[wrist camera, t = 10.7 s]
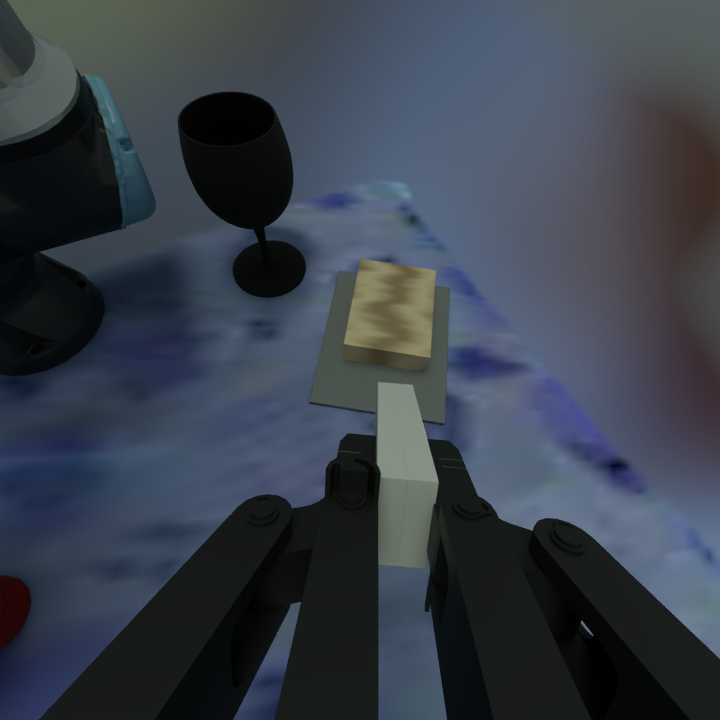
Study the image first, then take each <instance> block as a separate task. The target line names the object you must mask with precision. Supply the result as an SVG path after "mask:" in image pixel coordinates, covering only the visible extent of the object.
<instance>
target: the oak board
mask: <svg viewBox="0 0 720 720" xmlns="http://www.w3.org/2000/svg"><path fill="white" fill-rule="evenodd" d="M435 275H436V270H430V269H424V268H417V267H411V266H404V265H398V264H391V263H384V262H378V261H371V260H365V259H360V264H359V269H358V274H357V279H356V284H355V289H354V294H353V299H352V304H351V310H350V315H349V320H348V325H347V330H346V335H345V340H344V355H343V359H344V360H350V361H356V362H362V363H369V364H375V365H381V366H388V367H394V368H400V369H407V370H413V371H419V372H423V370H424V368H425V367H426V365H427V363H428V361H429V359H430V355H431V339H432V323H433V307H434V291H435Z"/></svg>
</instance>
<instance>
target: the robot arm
mask: <svg viewBox="0 0 720 720" xmlns="http://www.w3.org/2000/svg"><path fill="white" fill-rule="evenodd" d="M155 209H156V200H155V197H154V195H153V192H152V189H151V186H150V184H149V182H148V179H147V176H146V174H145V172H144V169H143V167H142V164H141V162H140V159H139V157H138V155H137V152H136V150H135V148H134V146H133V144H132V141H131V138H130V136H129V134H128V131H127V128H126V126H125V124H124V121H123V119H122V116H121V114H120V112H119V109H118V107H117V105H116V102H115V100H114V98H113V96H112V93H111V91H110V89H109V87H108V85H107V83H106V82H105V81H104V80H103V79H102V78H100V77H97V76H90V75H87V74H85V75H83V76H82V77H81V75H80V74H79V72H78V70H77V69H76V67H75V66H74V64H73V62H72V61H71V59H70V58H69V57H68V56H67V55H66V53H65V52H64V51H63V50H62V49H61V48H59V47H58V46H57V45H56V44H54V43H53V42H51V41H49V40H48V39H46V38H44V37H42V36H39V35H38V34H35V33H33V32H31V31H29V30H27V29H26V28H25V27H24V25H23V24H22V22H21V21H20V19H19V18H18V16H17V15H16V13H15V11H14V10H13V8H12V7H11V5H10V4H9V3H8V1H7V0H0V374H3V375H24V374H30V373H35V372H39V371H42V370H45V369H48V368H50V367H53V366H55V365H57V364H59V363H61V362H63V361H65V360H66V359H68V358H69V357H71V356H72V355H74V354H75V353H76V352H78V351H79V350H80V349H81V348H82V347H83V346H84V345H86V343H87V342H88V341H89V340H90V339H91V338H92V336H93V335H94V334H95V332H96V331H97V329H98V327H99V325H100V323H101V320H102V317H103V312H104V302H103V298H102V295H101V293H100V291H99V290H98V289H97V287H96V286H95V285H94V284H93V283H92V282H91V281H89V280H88V279H87V278H86V277H85V276H84V275H83V274H82V273H80V272H79V271H77V270H75V269H73V268H71V267H69V266H67V265H65V264H63V263H61V262H59V261H57V260H54V259H53V258H50V257H48V256H46V255H44V254H42V253H40V251H44V250H47V249H51V248H54V247H58V246H62V245H65V244H69V243H73V242H76V241H79V240H83V239H87V238H90V237H94V236H97V235H101V234H105V233H108V232H112V231H115V230H119V229H120V230H121V229H125V228H126V227H127V226H128V225H131V224H134V223H137V222H139V221H142V220H145V219H147V218H149V217H150V216H151V215H152V214H153V213H154V212H155ZM427 556H428V559H429V565H430V575H429V581H428V587H427V594H426V600H425V611H426V612H429V608H430V605H431V612H432V619H433V626H434V633H435V639H436V646H437V653H438V660H439V667H440V674H441V681H442V687H443V694H444V701H445V708H446V715H447V720H720V659H719V658H718V657H717V656H716V655H715V654H714V653H713V652H712V651H711V650H710V649H709V648H708V647H707V646H706V645H704V644H703V643H702V642H701V641H700V640H699V639H698V638H697V637H696V636H695V635H694V634H693V633H692V632H691V631H690V630H689V629H688V628H687V627H686V626H685V625H684V624H682V623H681V622H680V621H679V620H678V619H677V618H676V617H675V616H674V615H673V614H672V613H671V612H670V611H669V610H668V609H667V608H666V607H665V606H664V605H663V604H662V603H660V602H659V601H658V600H657V599H656V598H655V597H654V596H653V595H652V594H651V593H650V592H649V591H648V590H647V589H646V588H645V587H644V586H643V585H642V584H641V583H640V582H638V581H637V580H636V579H635V578H634V577H633V576H632V575H631V574H630V573H629V572H628V571H627V570H626V569H625V568H624V567H623V566H622V565H621V564H620V563H619V562H618V561H617V560H615V559H614V558H613V557H612V556H611V555H610V554H609V553H608V552H607V551H606V550H605V549H604V548H603V547H602V546H601V545H600V544H599V543H598V542H597V541H596V540H595V539H593V538H592V537H591V536H590V535H589V534H587V533H586V532H585V531H583V530H582V529H580V528H578V527H577V526H575V525H573V524H571V523H569V522H565V521H562V520H559V519H551V518H545V519H542V520H539V521H538V522H537V523H536V524H535V526H534V529H533V531H531V530H528V529H525V528H522V527H519V526H516V525H513V524H510V523H508V522H505V521H503V520H501V519H499V518H498V515H497V513H496V512H495V510H494V509H493V507H492V506H491V505H490V504H489V503H488V502H487V501H485V500H484V499H483V498H481V497H479V496H478V495H477V493H476V490H475V488H474V485H473V483H472V481H471V478H470V476H469V474H468V471H467V469H466V466H465V464H464V462H463V461H462V457H461V454H460V452H459V450H458V449H457V448H456V447H455V446H454V445H453V444H452V443H451V442H450V441H445V440H433V439H427V436H426V433H425V429H424V425H423V422H422V418H421V414H420V410H419V407H418V403H417V399H416V395H415V392H414V388H413V385H409V384H396V383H383V382H378V388H377V401H376V413H375V425H374V436H372V435H360V434H347V435H346V436H345V437H344V438H343V439H342V440H341V441H340V445H339V450H338V454H337V458H336V459H334V460H333V461H331V462H330V463H329V464H328V466H327V468H326V481H325V497H324V498H323V499H322V500H320V501H319V502H317V503H314V504H312V505H308V506H304V507H299V508H291V505H290V504H289V502H288V501H287V500H286V499H284V498H282V497H280V496H277V495H269V494H267V495H260V496H255V497H253V498H251V499H248V500H246V501H245V502H243V503H242V504H241V505H240V506H238V507H237V508H236V509H235V511H234V512H233V513H232V514H231V515H230V516H229V517H228V518H227V519H226V520H225V521H224V522H223V523H222V524H221V525H220V527H219V528H218V529H217V530H216V531H215V532H214V533H213V534H212V535H211V536H210V537H209V538H208V539H207V540H206V542H205V543H204V544H203V545H202V546H201V547H200V548H199V549H198V550H197V551H196V552H195V553H194V554H193V555H192V556H191V558H190V559H189V560H188V561H187V562H186V563H185V564H184V565H183V566H182V567H181V568H180V569H179V570H178V571H177V573H176V574H175V575H174V576H173V577H172V578H171V579H170V580H169V581H168V582H167V583H166V584H165V585H164V586H163V588H162V589H161V590H160V591H159V592H158V593H157V594H156V595H155V596H154V597H153V598H152V599H151V600H150V601H149V602H148V604H147V605H146V606H145V607H144V608H143V609H142V610H141V611H140V612H139V613H138V614H137V615H136V616H135V617H134V619H133V620H132V621H131V622H130V623H129V624H128V625H127V626H126V627H125V628H124V629H123V630H122V631H121V632H120V634H119V635H118V636H117V637H116V638H115V639H114V640H113V641H112V642H111V643H110V644H109V645H108V646H107V647H106V648H105V650H104V651H103V652H102V653H101V654H100V655H99V656H98V657H97V658H96V659H95V660H94V661H93V662H92V663H91V665H90V666H89V667H88V668H87V669H86V670H85V671H84V672H83V673H82V674H81V675H80V676H79V677H78V678H77V680H76V681H75V682H74V683H73V684H72V685H71V686H70V687H69V688H68V689H67V690H66V691H65V692H64V693H63V694H62V696H61V697H60V698H59V699H58V700H57V701H56V702H55V703H54V704H53V705H52V706H51V707H50V708H49V709H48V711H47V712H46V713H45V714H44V715H43V716H42V717H41V718H40V719H39V720H233V719H234V717H235V715H236V713H237V711H238V709H239V707H240V705H241V703H242V701H243V699H244V697H245V695H246V693H247V691H248V689H249V687H250V685H251V683H252V681H253V679H254V677H255V675H256V673H257V671H258V669H259V667H260V665H261V664H262V662H263V660H264V658H265V656H266V654H267V652H268V650H269V648H270V646H271V644H272V642H273V640H274V638H275V636H276V634H277V632H278V630H279V628H280V626H281V624H282V622H283V620H284V618H285V616H286V614H287V612H288V610H289V608H290V605H291V604H293V603H297V602H301V606H300V610H299V615H298V619H297V624H296V628H295V632H294V637H293V641H292V646H291V650H290V655H289V659H288V664H287V668H286V672H285V677H284V681H283V686H282V690H281V695H280V699H279V704H278V708H277V712H276V717H275V720H378V565H389V566H399V567H409V568H420V569H426V562H427ZM581 621H583V622H584V624H585V625H586V626H587V627H588V629H589V630H590V631H591V633H592V634H593V635H594V636H592V635H591V634H590V633H589V632H588V631H587V630H586V629H585V628H584V627H583V625H582V624H581Z"/></svg>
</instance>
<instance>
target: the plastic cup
mask: <svg viewBox="0 0 720 720" xmlns="http://www.w3.org/2000/svg"><path fill="white" fill-rule="evenodd" d="M30 601H31V600H30V595H29V589H28V587H27V586H26V585H25V584H24V583H23V582H22V581H21V580H18V579H15V578H11V577H8V576H1V575H0V649H1V648H2V647H3V646H5V645H7V644H8V643H9V641H10V640H11V639H12V638H13V637H14V636H15V635H16V634H17V633H18V632H19V631H20V629H21V627H22V625H23V623H24V621H25V619H26V618H27V616H28V611H29V606H30Z"/></svg>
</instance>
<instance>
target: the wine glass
mask: <svg viewBox="0 0 720 720" xmlns="http://www.w3.org/2000/svg"><path fill="white" fill-rule="evenodd" d="M178 129H179V137H180V144H181V149H182V154H183V159H184V162H185V166H186V169H187V172H188V175H189V177H190V179H191V181H192V184H193V186H194V188H195V190H196V191H197V193H198V195H199V196H200V197H201V199H202V200H203V202H204V203H205V204H206V205H207V206H208V208H209V209H210V210H211V211H212V212H213V213H215V214H216V215H217V216H218V217H220V218H221V219H223V220H224V221H226V222H228V223H230V224H232V225H234V226H237V227H240V228H245V229H253V230H254V232H255V234H256V236H257V239H258V241H259V242H258V243H255V244H253V245H251V246H249V247H247V248H246V249H244V250H243V251H242V252H241V253H240V254H239V255H238V257H237V258H236V260H235V262H234V266H233V275H234V278H235V280H236V283H237V284H238V285H239V287H241V288H242V289H243V290H244V291H246V292H247V293H249V294H251V295H255V296H259V297H276V296H280V295H283V294H286V293H288V292H290V291H291V290H293V289H294V288H295V287H297V286H298V285H299V284H300V282H301V281H302V279H303V277H304V275H305V270H306V265H305V260H304V257H303V256H302V254H301V253H300V251H299V250H297V249H296V248H295V247H293V246H292V245H290V244H288V243H285V242H281V241H266V237H265V231H264V227H266V226H268V225H270V224H271V223H273V222H274V221H275V220H277V219H278V218H279V217H280V215H281V214H282V213H283V212H284V210H285V208H286V207H287V205H288V202H289V200H290V197H291V193H292V187H293V166H292V159H291V154H290V149H289V146H288V143H287V140H286V137H285V134H284V132H283V129H282V126H281V124H280V122H279V119H278V117H277V114H276V112H275V110H274V109H273V107H272V106H271V105H270V104H269V103H268V102H266V101H265V100H264V99H262V98H260V97H257V96H255V95H252V94H247V93H242V92H219V93H213V94H209V95H206V96H202V97H200V98H198V99H196V100H194V101H192V102H191V103H189V104H188V105H187V106H185V108H183V110H182V111H181V113H180V115H179V117H178Z"/></svg>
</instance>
